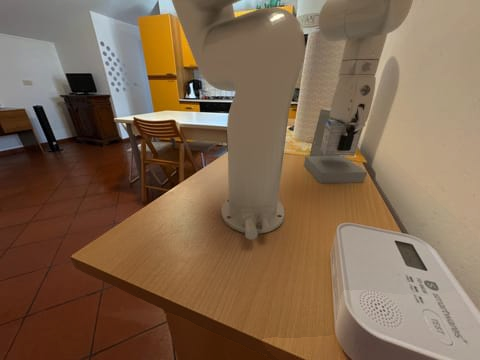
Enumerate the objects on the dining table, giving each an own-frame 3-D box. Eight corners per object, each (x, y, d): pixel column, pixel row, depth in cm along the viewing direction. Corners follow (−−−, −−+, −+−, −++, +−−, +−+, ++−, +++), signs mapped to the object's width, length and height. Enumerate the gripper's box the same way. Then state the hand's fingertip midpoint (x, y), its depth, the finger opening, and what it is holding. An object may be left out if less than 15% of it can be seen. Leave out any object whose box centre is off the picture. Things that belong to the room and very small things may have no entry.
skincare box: (309, 155, 69) (317, 108, 62) (319, 151, 73) (329, 106, 66) (331, 162, 63) (344, 111, 56) (341, 157, 68) (354, 109, 60)
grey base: (363, 182, 51) (367, 172, 50) (319, 183, 51) (321, 172, 49) (340, 164, 62) (343, 155, 60) (303, 164, 61) (305, 156, 60)
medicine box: (348, 151, 55) (357, 119, 51) (354, 156, 51) (365, 123, 47) (319, 149, 56) (326, 119, 52) (324, 155, 52) (331, 122, 48)
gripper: (402, 69, 37) (371, 158, 45) (352, 71, 52) (336, 138, 60) (364, 68, 36) (340, 158, 45) (325, 71, 51) (312, 138, 60)
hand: (338, 146), depth 53 cm, fingers closed on medicine box, 5 cm apart
